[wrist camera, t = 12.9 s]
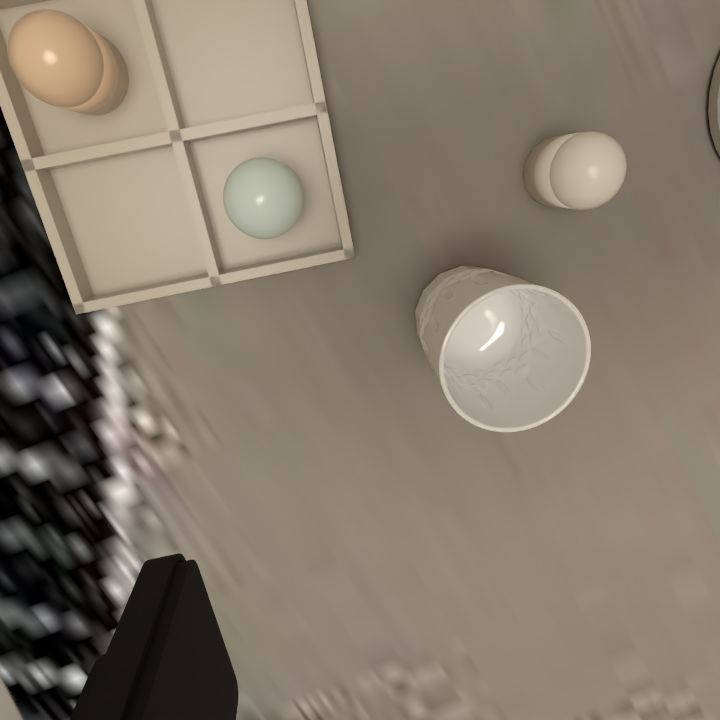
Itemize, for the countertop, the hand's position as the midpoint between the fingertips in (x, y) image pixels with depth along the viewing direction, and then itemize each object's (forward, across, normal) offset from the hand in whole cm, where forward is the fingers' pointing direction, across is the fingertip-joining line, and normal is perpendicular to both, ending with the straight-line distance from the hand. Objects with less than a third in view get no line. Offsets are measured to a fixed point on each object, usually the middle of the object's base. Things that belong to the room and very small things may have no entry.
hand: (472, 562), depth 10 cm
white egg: (+28, -14, -4) cm, 32 cm away
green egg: (+28, +4, -6) cm, 29 cm away
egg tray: (+28, +8, -10) cm, 31 cm away
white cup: (+28, -7, +4) cm, 30 cm away
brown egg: (+28, +12, -14) cm, 33 cm away
